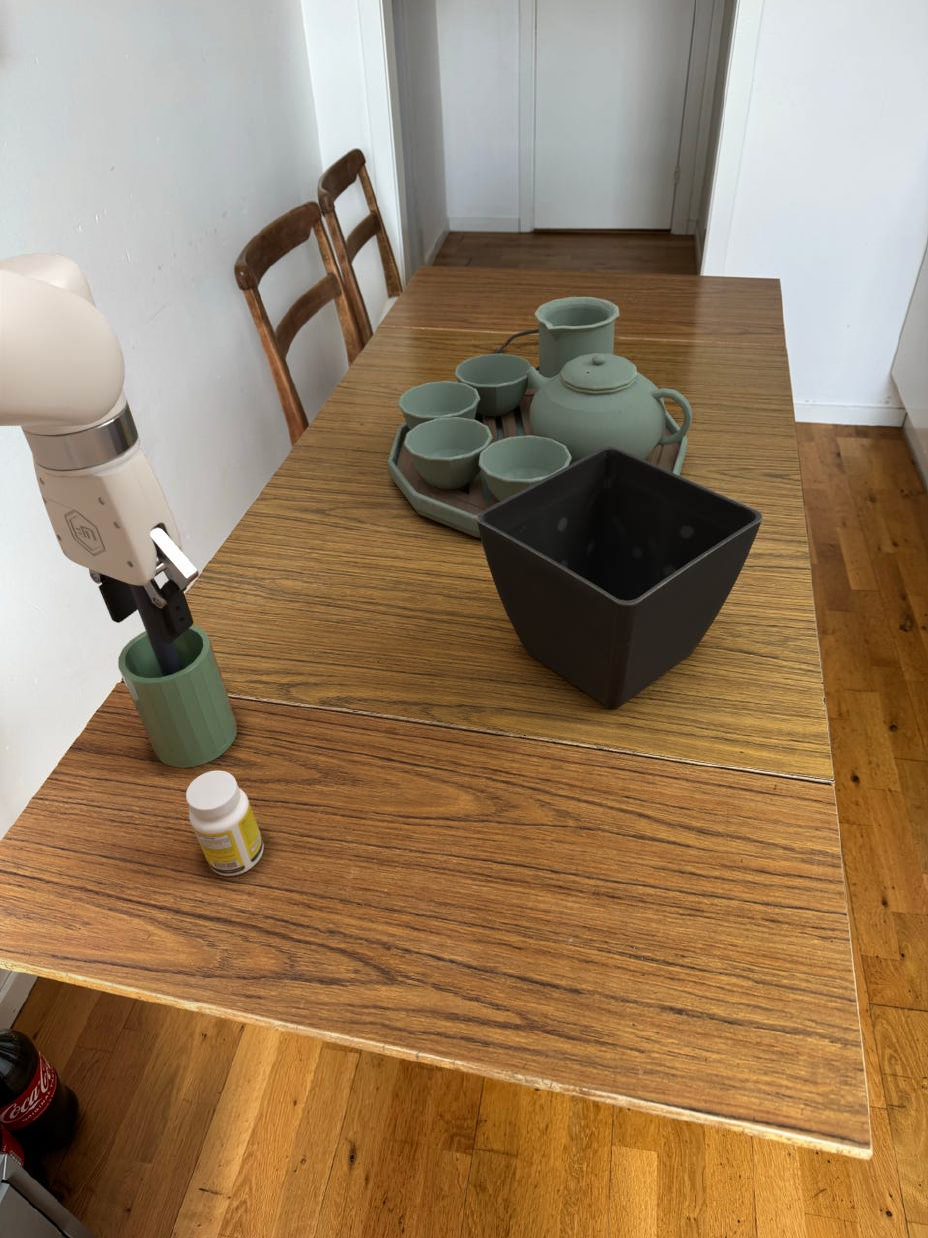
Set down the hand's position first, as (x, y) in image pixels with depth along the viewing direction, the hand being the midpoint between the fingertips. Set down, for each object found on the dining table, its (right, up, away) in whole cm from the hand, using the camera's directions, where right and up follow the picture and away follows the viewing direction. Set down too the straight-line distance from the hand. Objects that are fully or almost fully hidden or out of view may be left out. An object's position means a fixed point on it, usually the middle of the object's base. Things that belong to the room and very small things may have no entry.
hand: (152, 621), depth 77 cm
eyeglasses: (+41, +43, +71) cm, 92 cm away
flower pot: (+42, -3, +15) cm, 45 cm away
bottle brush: (+1, -10, +9) cm, 14 cm away
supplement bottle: (+8, -20, -2) cm, 21 cm away
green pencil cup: (+1, -11, +9) cm, 14 cm away
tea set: (+37, +21, +45) cm, 62 cm away
